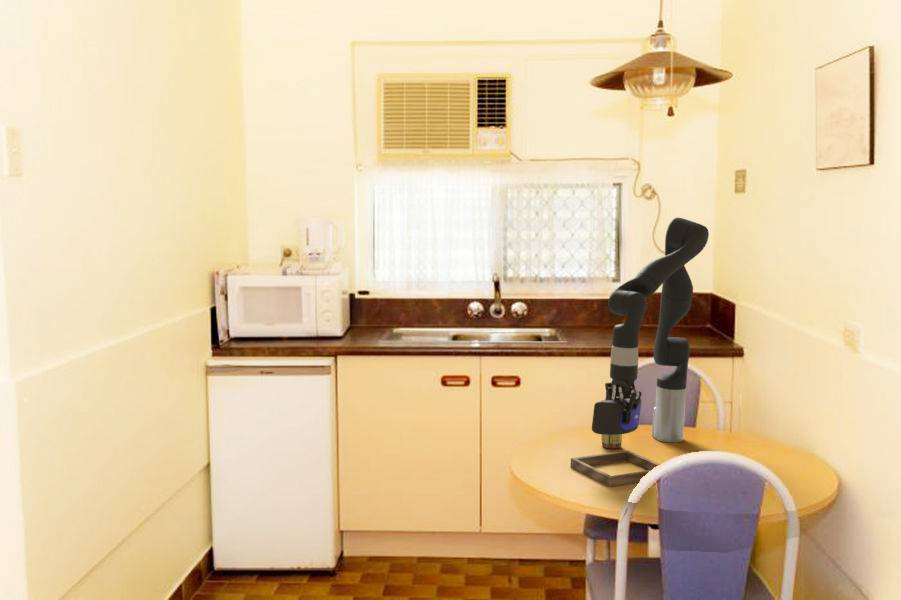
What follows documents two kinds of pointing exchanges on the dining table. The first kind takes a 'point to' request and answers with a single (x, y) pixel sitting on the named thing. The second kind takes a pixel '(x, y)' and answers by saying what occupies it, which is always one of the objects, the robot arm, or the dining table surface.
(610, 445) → the sauce bottle
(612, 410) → the black two-tone rounded block
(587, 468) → the walnut tray
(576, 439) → the dining table surface
